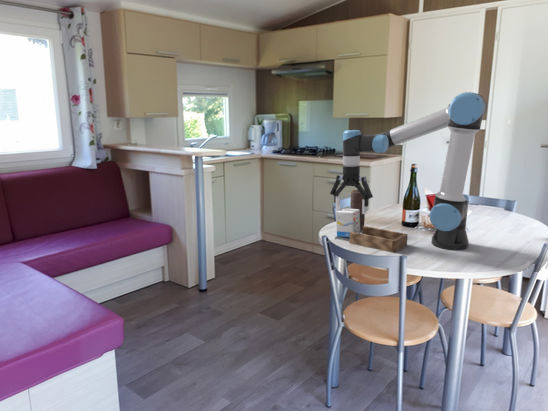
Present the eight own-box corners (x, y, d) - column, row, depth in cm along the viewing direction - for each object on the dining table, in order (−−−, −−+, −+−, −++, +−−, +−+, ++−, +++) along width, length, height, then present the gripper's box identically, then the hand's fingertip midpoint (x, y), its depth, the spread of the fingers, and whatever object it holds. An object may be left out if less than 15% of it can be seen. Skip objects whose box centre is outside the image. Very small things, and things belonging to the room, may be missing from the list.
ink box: (353, 237, 198) (352, 212, 196) (336, 236, 203) (335, 211, 201) (361, 233, 205) (360, 208, 203) (344, 232, 210) (343, 208, 208)
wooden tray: (406, 244, 194) (407, 234, 193) (394, 252, 184) (395, 241, 183) (363, 236, 207) (363, 225, 205) (349, 243, 196) (349, 232, 195)
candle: (363, 232, 212) (366, 191, 208) (348, 231, 214) (350, 191, 209) (364, 228, 220) (366, 188, 215) (349, 227, 221) (350, 188, 217)
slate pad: (361, 236, 206) (361, 234, 206) (350, 241, 198) (350, 239, 198) (346, 233, 211) (346, 231, 211) (335, 238, 203) (335, 236, 203)
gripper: (381, 165, 192) (379, 213, 197) (331, 162, 208) (331, 207, 212) (373, 167, 187) (372, 216, 191) (322, 164, 202) (323, 210, 206)
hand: (350, 211), depth 201 cm, fingers open, 13 cm apart
